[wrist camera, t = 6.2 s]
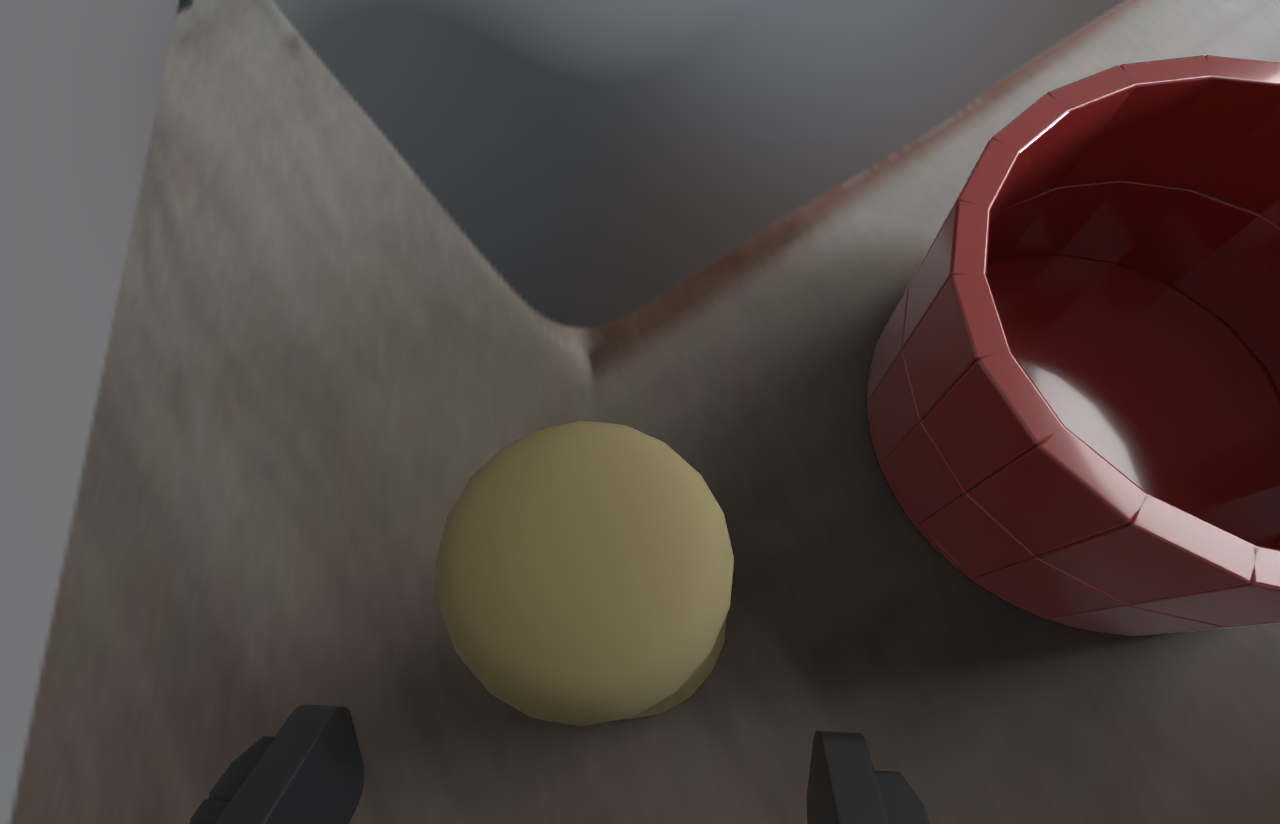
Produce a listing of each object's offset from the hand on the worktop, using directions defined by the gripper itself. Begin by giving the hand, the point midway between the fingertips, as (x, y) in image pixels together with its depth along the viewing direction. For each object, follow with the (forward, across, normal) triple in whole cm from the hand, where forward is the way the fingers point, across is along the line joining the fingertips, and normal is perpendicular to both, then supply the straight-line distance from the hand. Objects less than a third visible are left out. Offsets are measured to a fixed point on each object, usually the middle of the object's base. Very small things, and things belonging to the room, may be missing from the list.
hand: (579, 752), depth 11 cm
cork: (+8, 0, -4) cm, 9 cm away
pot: (+13, +14, +1) cm, 19 cm away
